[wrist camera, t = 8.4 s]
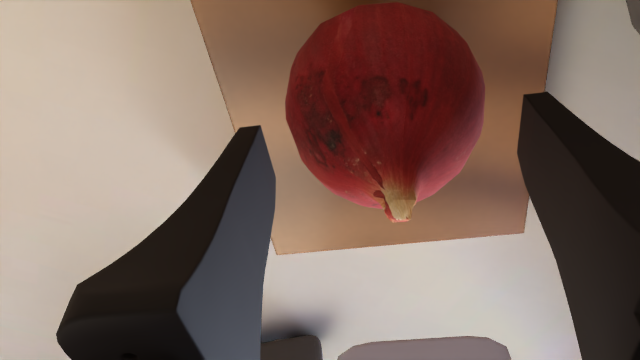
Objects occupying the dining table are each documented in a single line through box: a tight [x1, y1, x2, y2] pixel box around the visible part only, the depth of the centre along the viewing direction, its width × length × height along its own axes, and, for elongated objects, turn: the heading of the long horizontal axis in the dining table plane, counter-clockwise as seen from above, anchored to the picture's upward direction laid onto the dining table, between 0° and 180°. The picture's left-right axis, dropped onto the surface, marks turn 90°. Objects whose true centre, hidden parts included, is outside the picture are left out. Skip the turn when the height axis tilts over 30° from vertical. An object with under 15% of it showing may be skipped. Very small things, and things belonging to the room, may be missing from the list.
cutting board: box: [190, 0, 558, 255], centre depth 20 cm, size 20×12×2 cm, turn 9°
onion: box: [285, 2, 485, 223], centre depth 16 cm, size 6×6×8 cm
